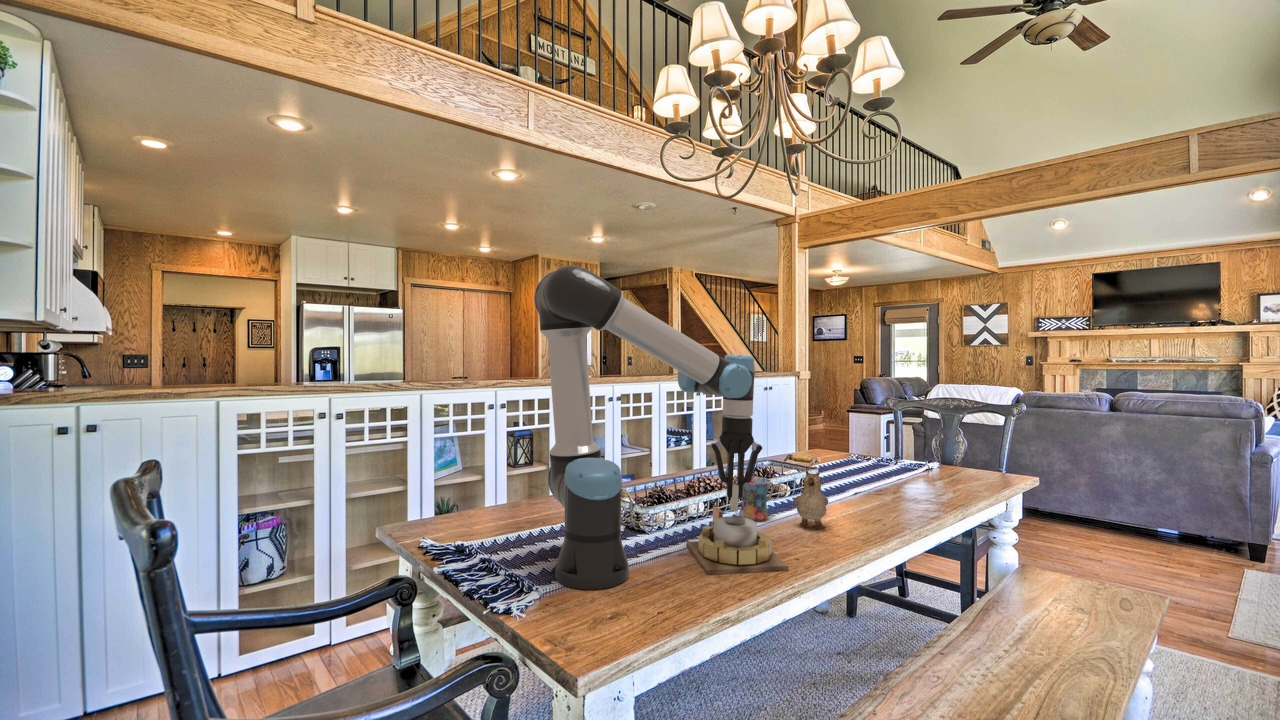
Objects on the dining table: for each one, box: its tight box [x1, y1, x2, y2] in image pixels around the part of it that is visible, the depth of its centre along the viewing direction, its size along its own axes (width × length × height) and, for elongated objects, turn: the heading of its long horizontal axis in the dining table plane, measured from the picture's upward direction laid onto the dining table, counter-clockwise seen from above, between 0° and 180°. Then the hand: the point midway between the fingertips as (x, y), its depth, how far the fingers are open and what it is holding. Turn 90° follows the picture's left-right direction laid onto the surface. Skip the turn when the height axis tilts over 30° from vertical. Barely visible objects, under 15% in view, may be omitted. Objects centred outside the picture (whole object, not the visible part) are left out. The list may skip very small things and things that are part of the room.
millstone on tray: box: [698, 506, 773, 565], centre depth 139 cm, size 24×16×6 cm
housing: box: [685, 516, 789, 576], centre depth 136 cm, size 18×19×9 cm
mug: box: [738, 476, 775, 521], centre depth 168 cm, size 12×9×11 cm
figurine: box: [792, 470, 829, 530], centre depth 160 cm, size 9×10×15 cm
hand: (733, 510), depth 150 cm, fingers closed
